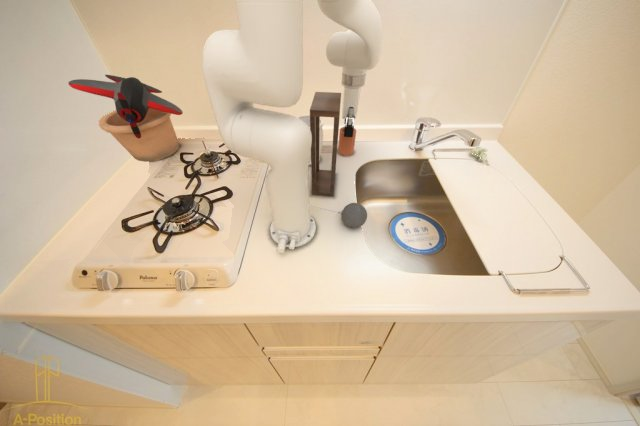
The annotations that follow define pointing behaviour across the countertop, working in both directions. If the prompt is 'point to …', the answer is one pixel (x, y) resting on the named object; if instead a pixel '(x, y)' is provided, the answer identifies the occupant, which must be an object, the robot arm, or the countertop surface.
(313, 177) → the shelf stand
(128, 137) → the pottery
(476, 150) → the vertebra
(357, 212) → the lollipop
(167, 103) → the toy airplane
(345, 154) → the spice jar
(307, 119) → the jar
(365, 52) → the robot arm
